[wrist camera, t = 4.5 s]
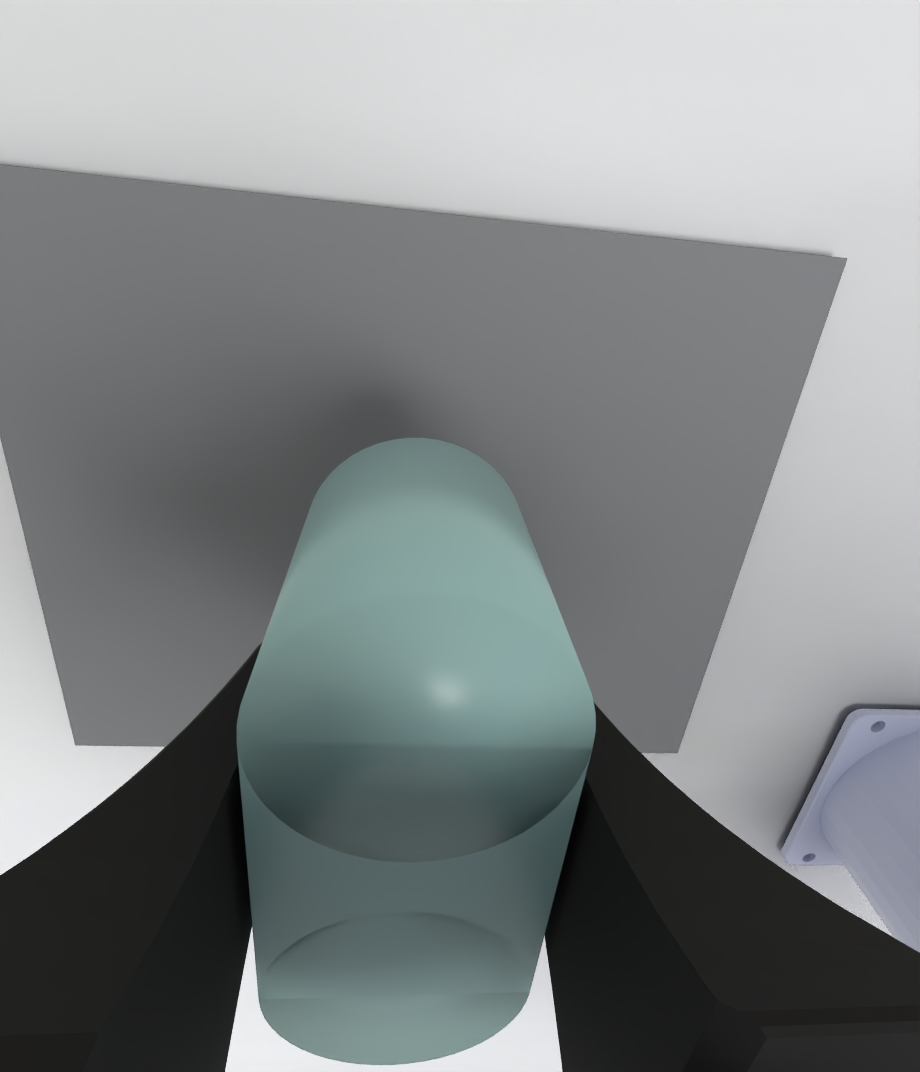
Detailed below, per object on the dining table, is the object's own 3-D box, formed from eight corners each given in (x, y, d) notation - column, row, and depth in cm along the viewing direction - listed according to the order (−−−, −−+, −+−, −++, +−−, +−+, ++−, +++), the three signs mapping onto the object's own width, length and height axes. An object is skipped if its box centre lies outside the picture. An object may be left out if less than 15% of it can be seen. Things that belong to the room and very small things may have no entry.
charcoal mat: (834, 257, 15) (847, 258, 15) (672, 742, 22) (677, 753, 22) (-52, 159, 13) (-68, 157, 12) (82, 733, 20) (75, 745, 19)
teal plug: (303, 429, 10) (223, 584, 6) (538, 445, 11) (630, 601, 6) (311, 873, 15) (270, 1139, 11) (470, 872, 16) (494, 1127, 11)
